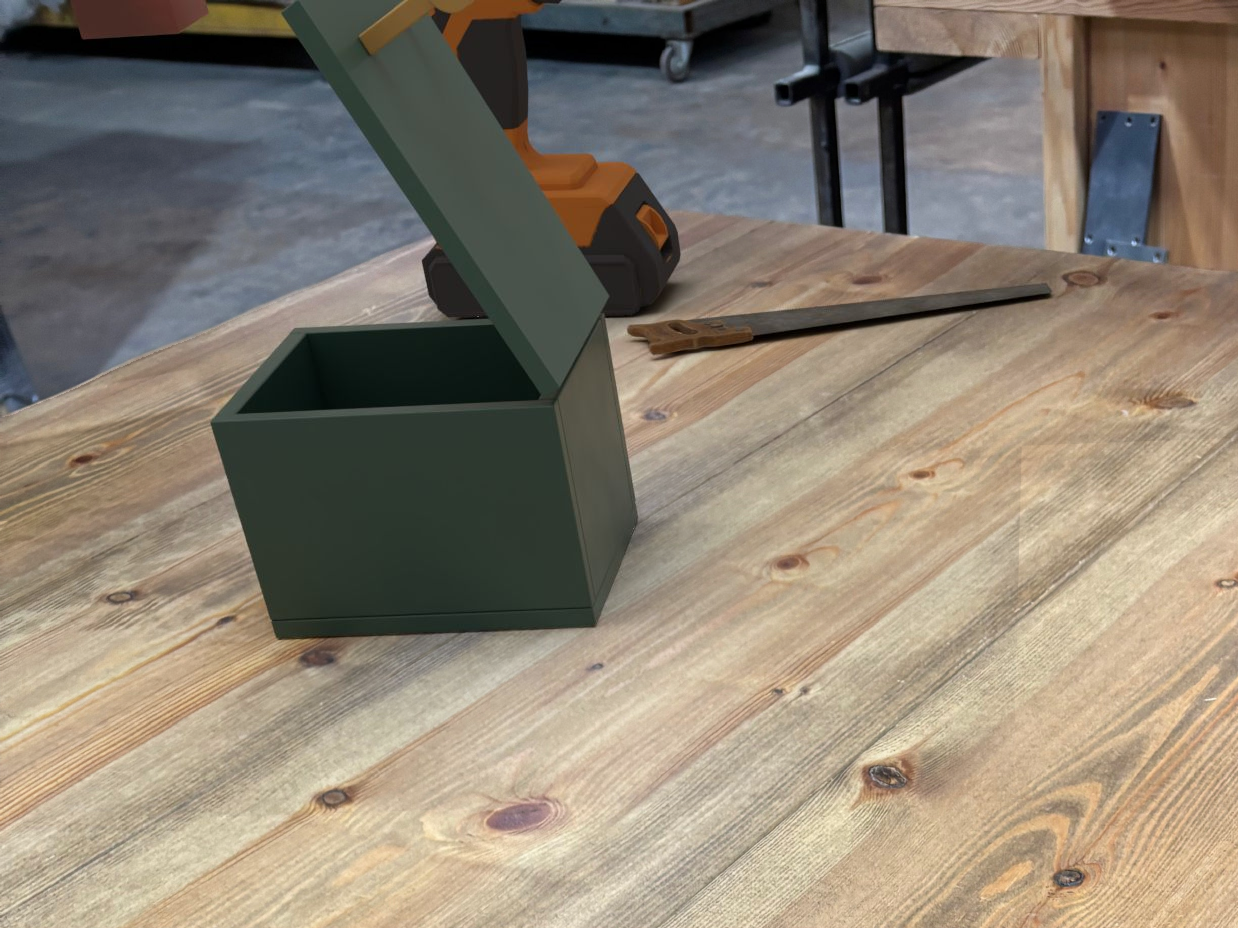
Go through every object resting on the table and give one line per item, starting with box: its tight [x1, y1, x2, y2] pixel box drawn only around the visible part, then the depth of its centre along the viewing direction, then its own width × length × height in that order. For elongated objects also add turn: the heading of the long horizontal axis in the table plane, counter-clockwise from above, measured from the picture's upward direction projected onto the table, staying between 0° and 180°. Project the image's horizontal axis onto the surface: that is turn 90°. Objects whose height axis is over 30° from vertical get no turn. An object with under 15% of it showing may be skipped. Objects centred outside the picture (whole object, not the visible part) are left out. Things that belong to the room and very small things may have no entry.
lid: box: [280, 0, 609, 398], centre depth 74 cm, size 14×12×6 cm
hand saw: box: [626, 282, 1053, 356], centre depth 110 cm, size 24×5×1 cm, turn 108°
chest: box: [209, 313, 639, 639], centre depth 82 cm, size 14×12×9 cm
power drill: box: [421, 0, 682, 319], centre depth 106 cm, size 22×7×25 cm, turn 85°
